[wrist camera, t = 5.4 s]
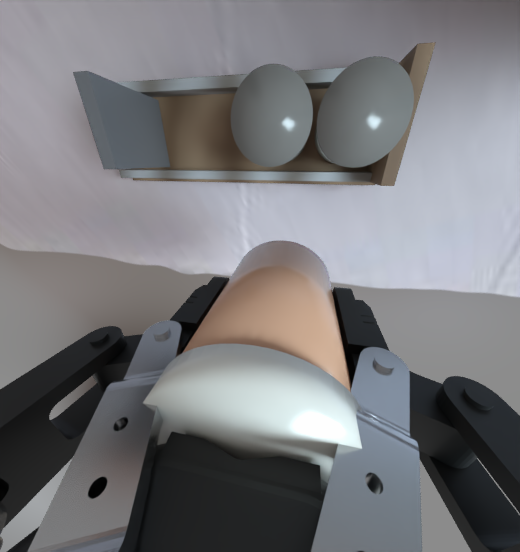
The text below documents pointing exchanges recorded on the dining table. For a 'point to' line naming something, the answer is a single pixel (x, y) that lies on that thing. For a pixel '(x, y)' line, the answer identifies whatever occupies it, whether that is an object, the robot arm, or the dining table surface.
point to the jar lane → (223, 149)
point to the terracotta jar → (265, 365)
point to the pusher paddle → (123, 123)
